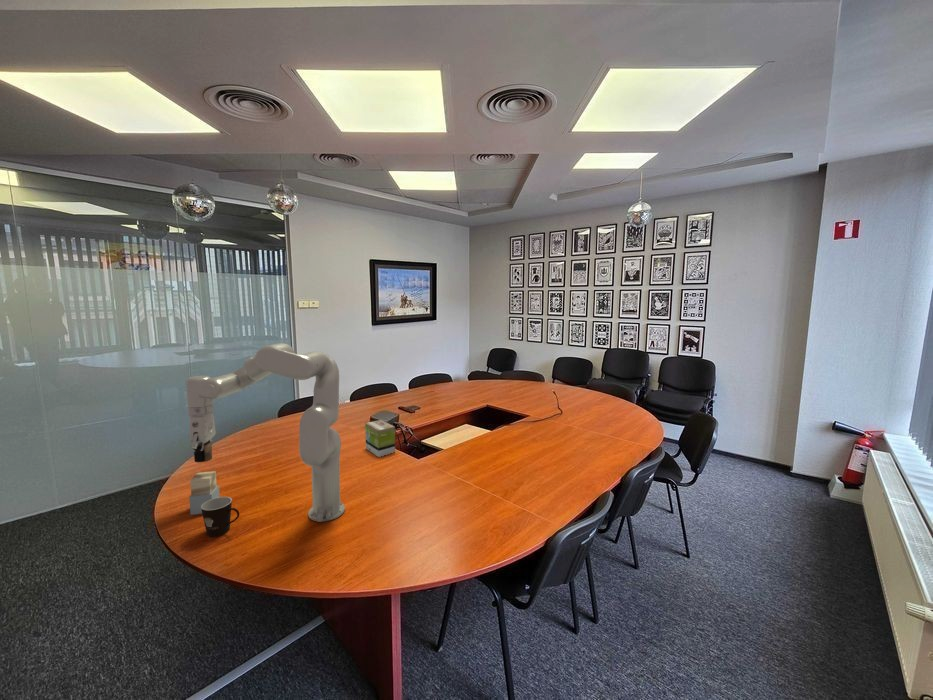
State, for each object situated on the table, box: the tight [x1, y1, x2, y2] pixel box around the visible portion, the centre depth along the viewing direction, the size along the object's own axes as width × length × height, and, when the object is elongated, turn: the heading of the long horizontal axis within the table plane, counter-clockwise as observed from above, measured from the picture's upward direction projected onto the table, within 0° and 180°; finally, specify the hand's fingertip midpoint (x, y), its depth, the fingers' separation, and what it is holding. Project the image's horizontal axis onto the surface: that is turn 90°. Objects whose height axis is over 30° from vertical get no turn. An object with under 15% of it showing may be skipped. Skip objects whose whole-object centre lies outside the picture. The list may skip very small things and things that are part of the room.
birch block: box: [190, 470, 218, 496], centre depth 137 cm, size 6×6×6 cm
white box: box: [188, 485, 221, 516], centre depth 138 cm, size 7×7×7 cm
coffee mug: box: [201, 496, 240, 538], centre depth 123 cm, size 12×9×10 cm
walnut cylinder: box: [197, 441, 213, 463], centre depth 136 cm, size 5×5×6 cm
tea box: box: [364, 419, 396, 458], centre depth 195 cm, size 15×10×15 cm, turn 42°
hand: (203, 457), depth 136 cm, fingers closed on walnut cylinder, 5 cm apart
